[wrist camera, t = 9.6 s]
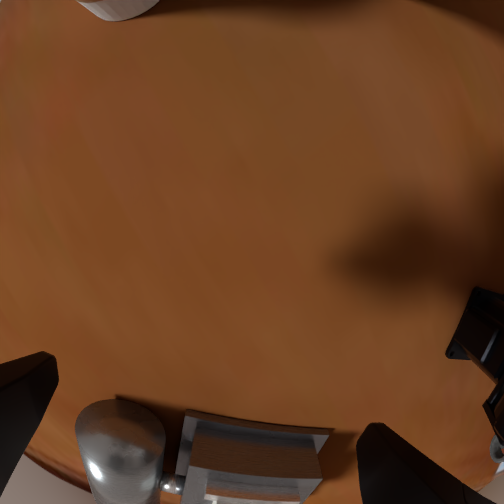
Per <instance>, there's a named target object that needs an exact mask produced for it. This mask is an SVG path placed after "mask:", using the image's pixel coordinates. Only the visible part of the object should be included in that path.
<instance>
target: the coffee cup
mask: <svg viewBox="0 0 504 504" xmlns="http://www.w3.org/2000/svg"><path fill="white" fill-rule="evenodd" d="M76 1H78V2H79V3H80V4H82V5H83V6H84V7H86V8H87V9H89V10H90V11H91V12H93V13H94V14H95V15H97V16H98V17H100V18H102V19H103V20H107V21H122V20H126V19H130V18H133V17H135V16H138V15H140V14H142V13H144V12H145V11H147V10H149V9H150V8H151V7H153V6H154V5H155V4H156V3H157V2H158V1H160V0H76Z"/></svg>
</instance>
